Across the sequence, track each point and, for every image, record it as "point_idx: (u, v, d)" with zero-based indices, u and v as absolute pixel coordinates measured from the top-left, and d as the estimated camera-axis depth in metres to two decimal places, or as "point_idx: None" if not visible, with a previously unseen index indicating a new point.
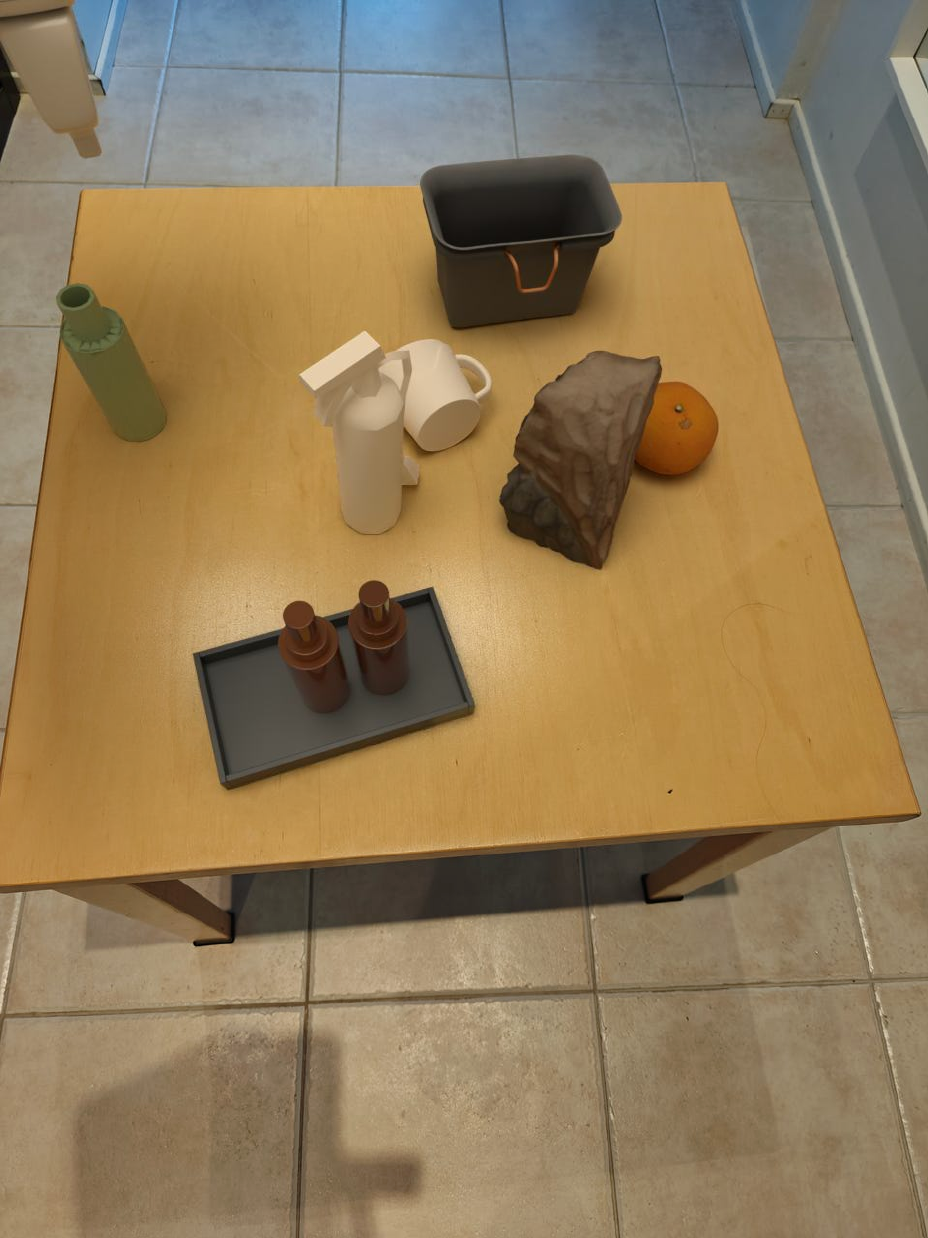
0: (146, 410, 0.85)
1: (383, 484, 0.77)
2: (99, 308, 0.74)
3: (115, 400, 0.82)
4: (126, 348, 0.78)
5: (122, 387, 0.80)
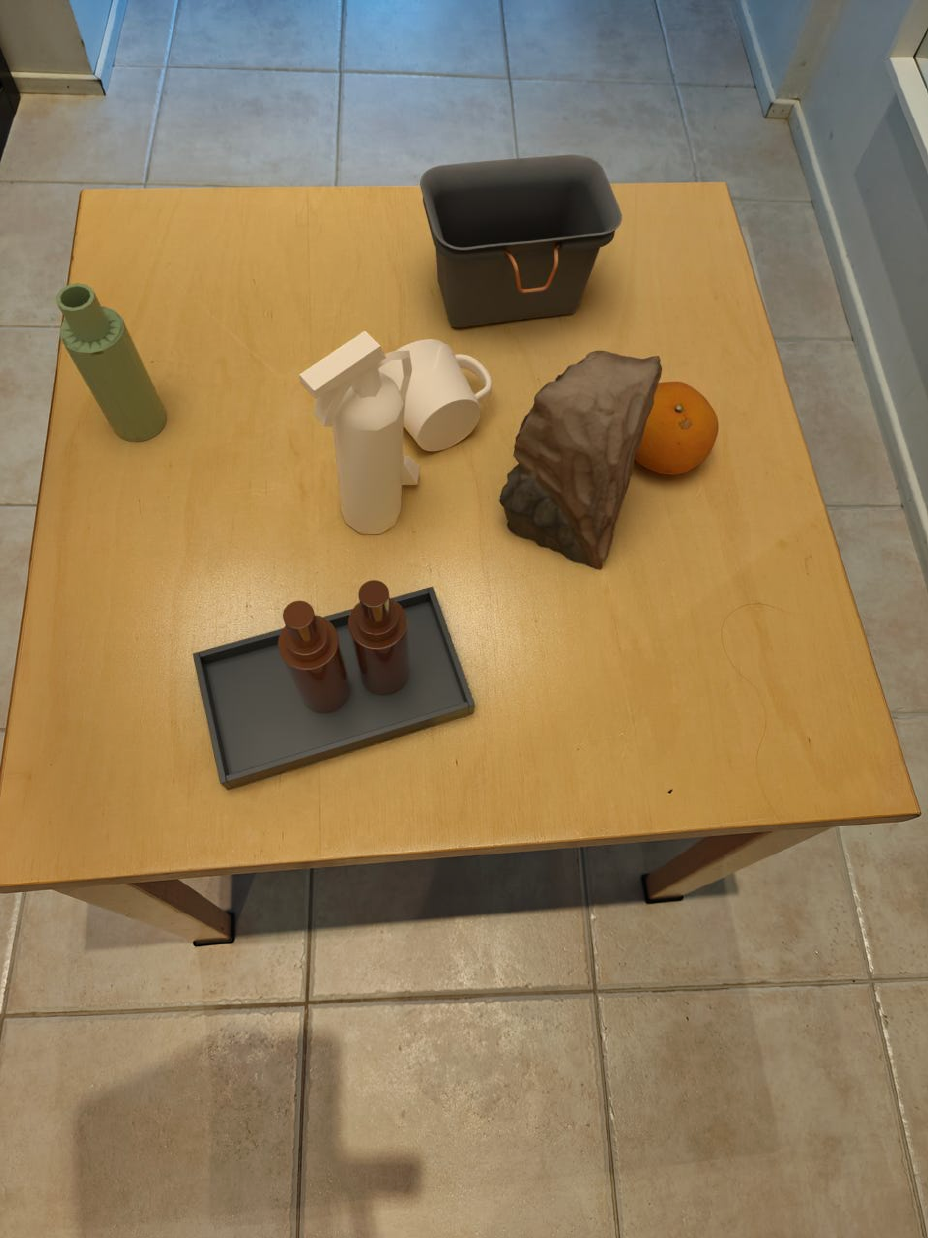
0: (146, 410, 0.85)
1: (383, 484, 0.77)
2: (99, 308, 0.74)
3: (115, 400, 0.82)
4: (126, 348, 0.78)
5: (122, 387, 0.80)
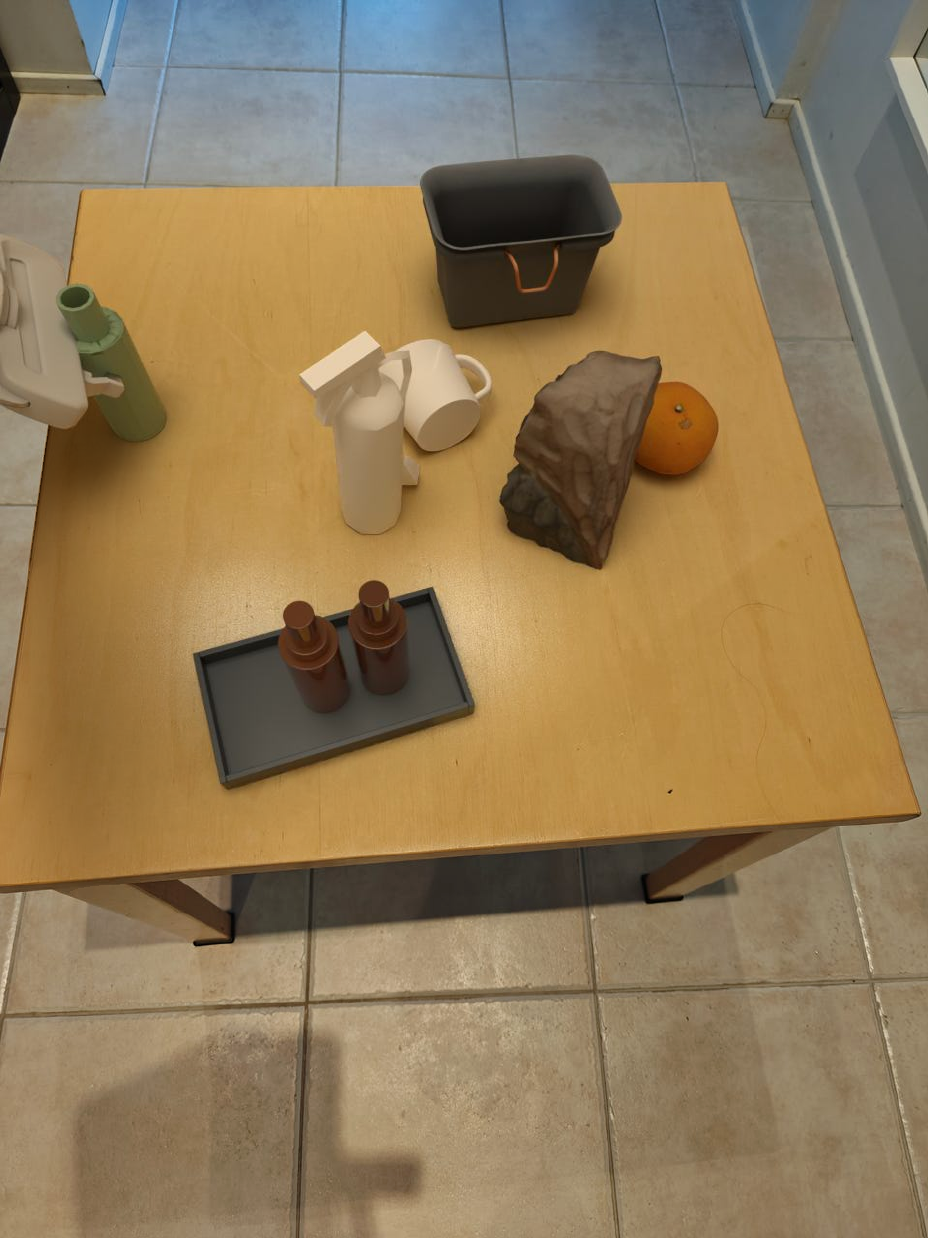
0: (146, 410, 0.85)
1: (383, 484, 0.77)
2: (99, 308, 0.74)
3: (115, 400, 0.82)
4: (126, 348, 0.78)
5: None
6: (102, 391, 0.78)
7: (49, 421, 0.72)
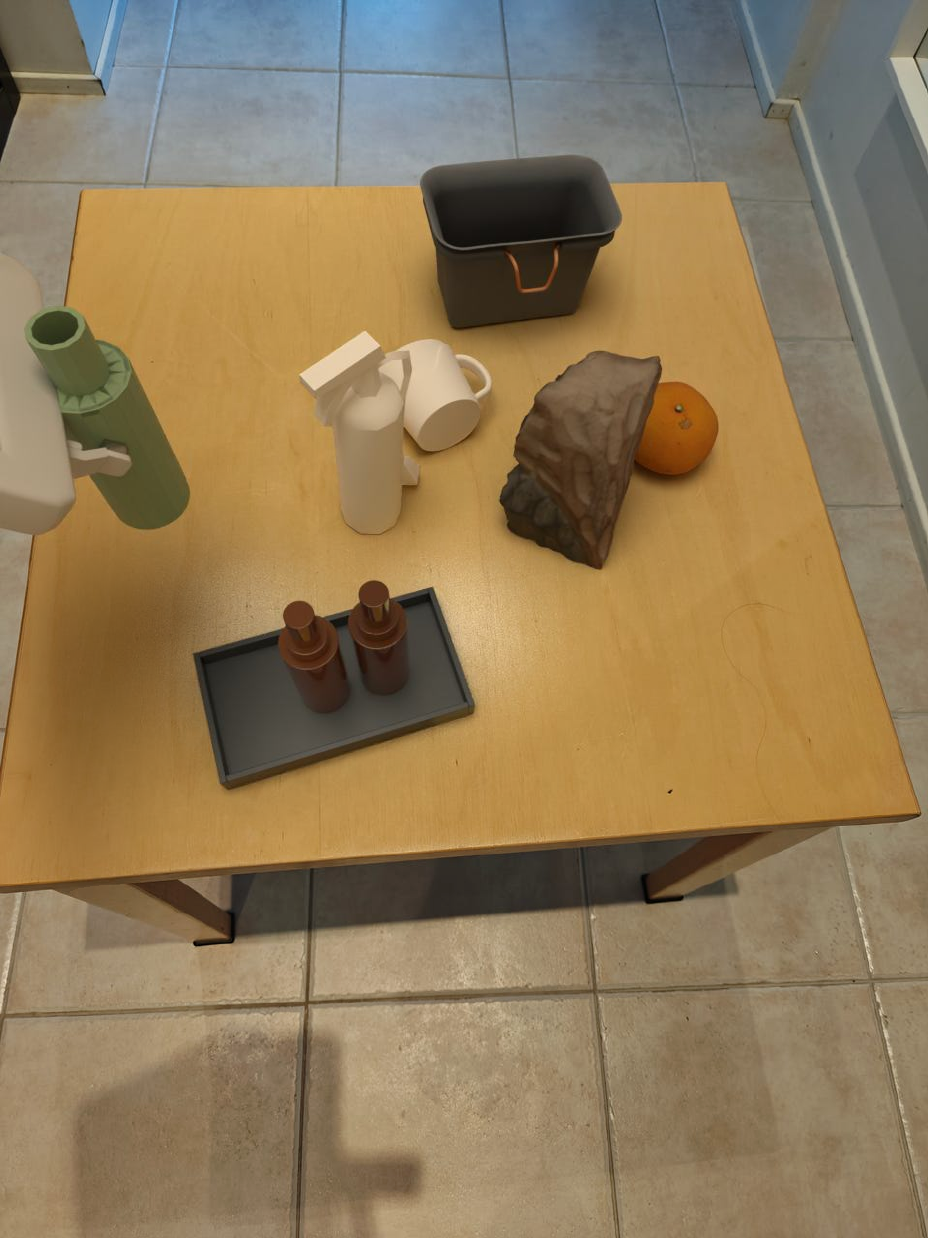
0: (163, 488, 0.58)
1: (383, 484, 0.77)
2: (93, 345, 0.47)
3: (118, 478, 0.55)
4: (134, 403, 0.51)
5: None
6: (98, 468, 0.51)
7: (14, 526, 0.45)
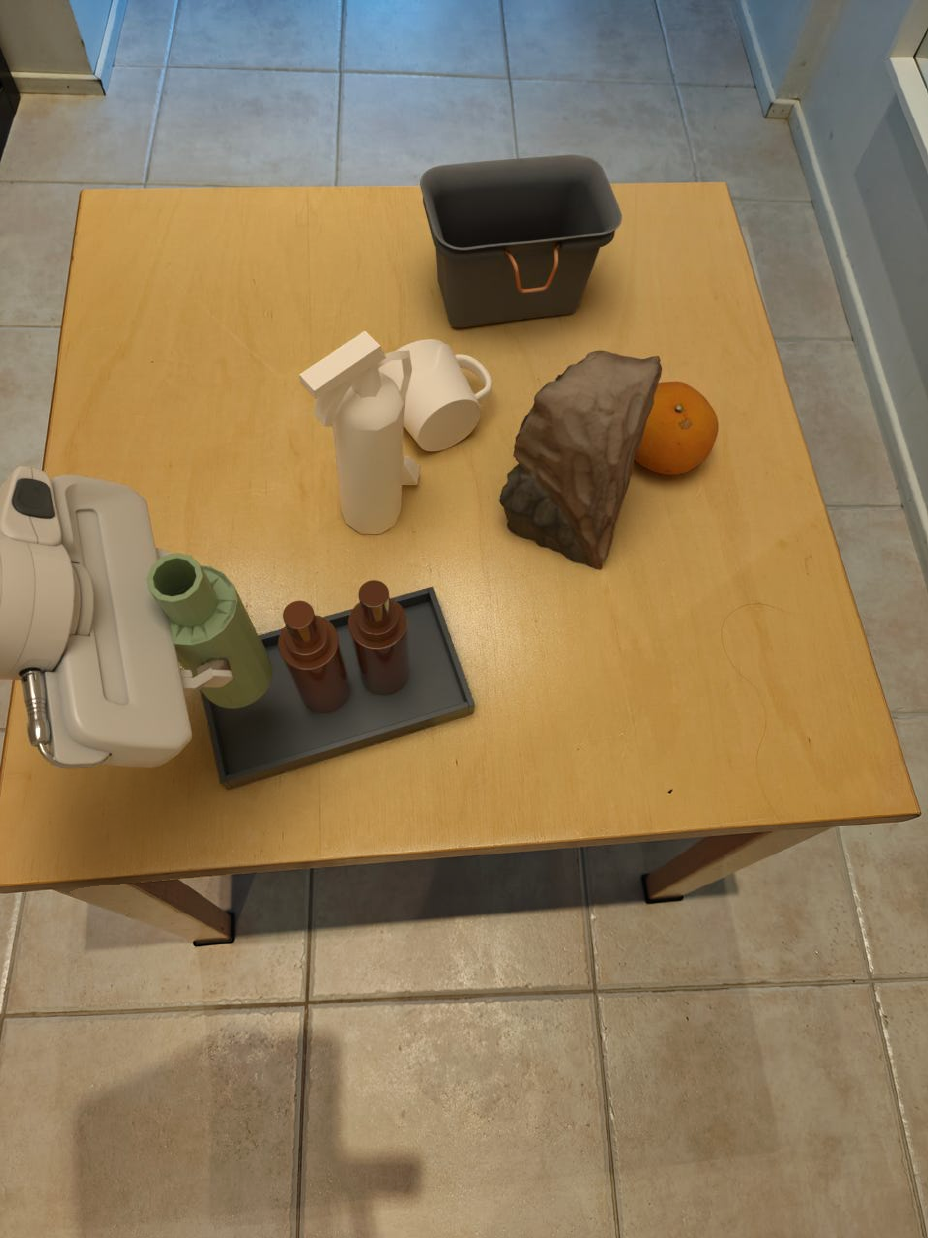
0: (253, 679, 0.62)
1: (383, 484, 0.77)
2: (207, 587, 0.51)
3: None
4: (238, 625, 0.55)
5: None
6: (202, 685, 0.55)
7: (136, 765, 0.49)
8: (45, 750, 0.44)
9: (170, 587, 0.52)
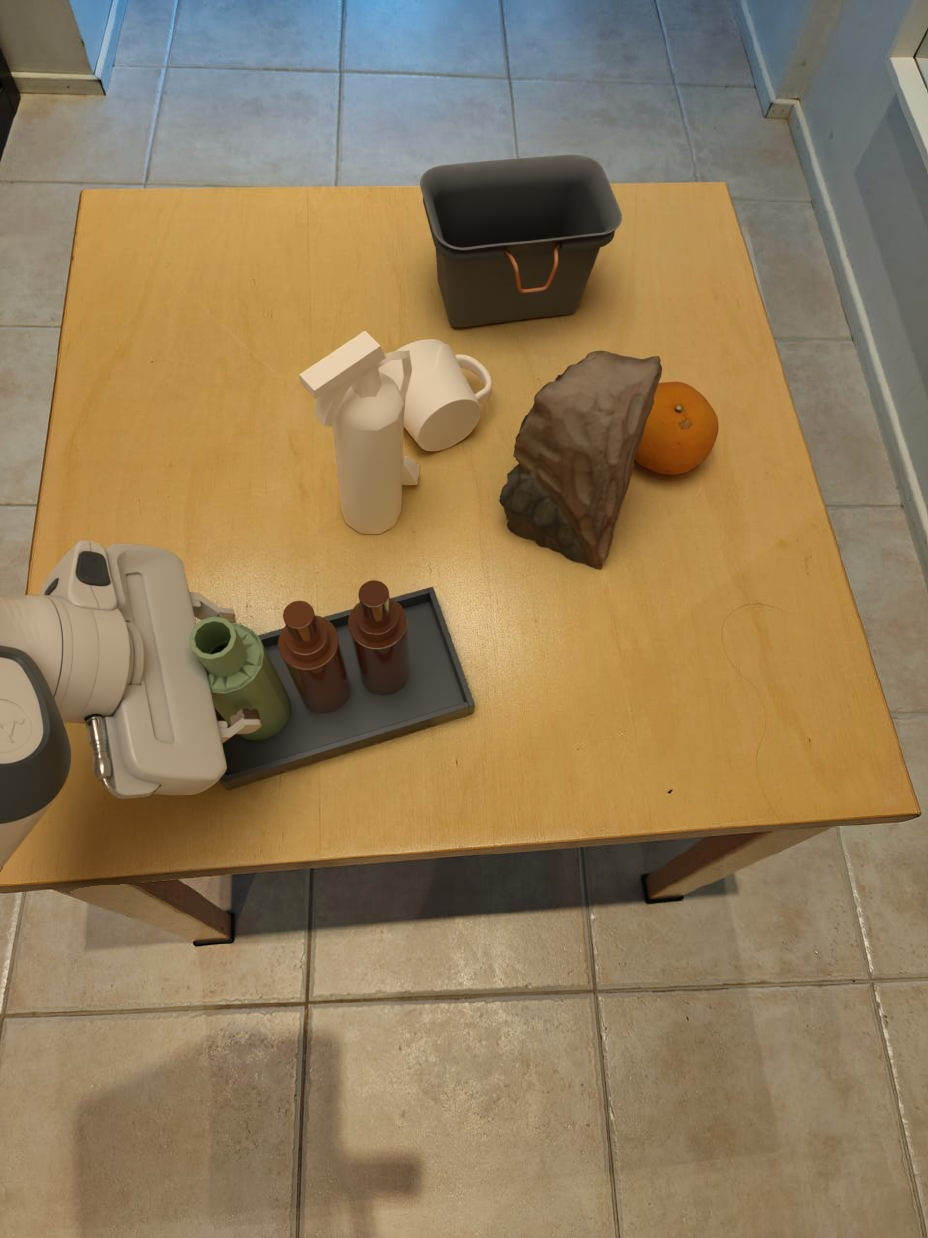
0: (275, 716, 0.71)
1: (383, 484, 0.77)
2: (239, 644, 0.60)
3: None
4: (264, 674, 0.64)
5: None
6: (235, 732, 0.63)
7: (180, 793, 0.58)
8: (108, 784, 0.53)
9: (207, 643, 0.62)
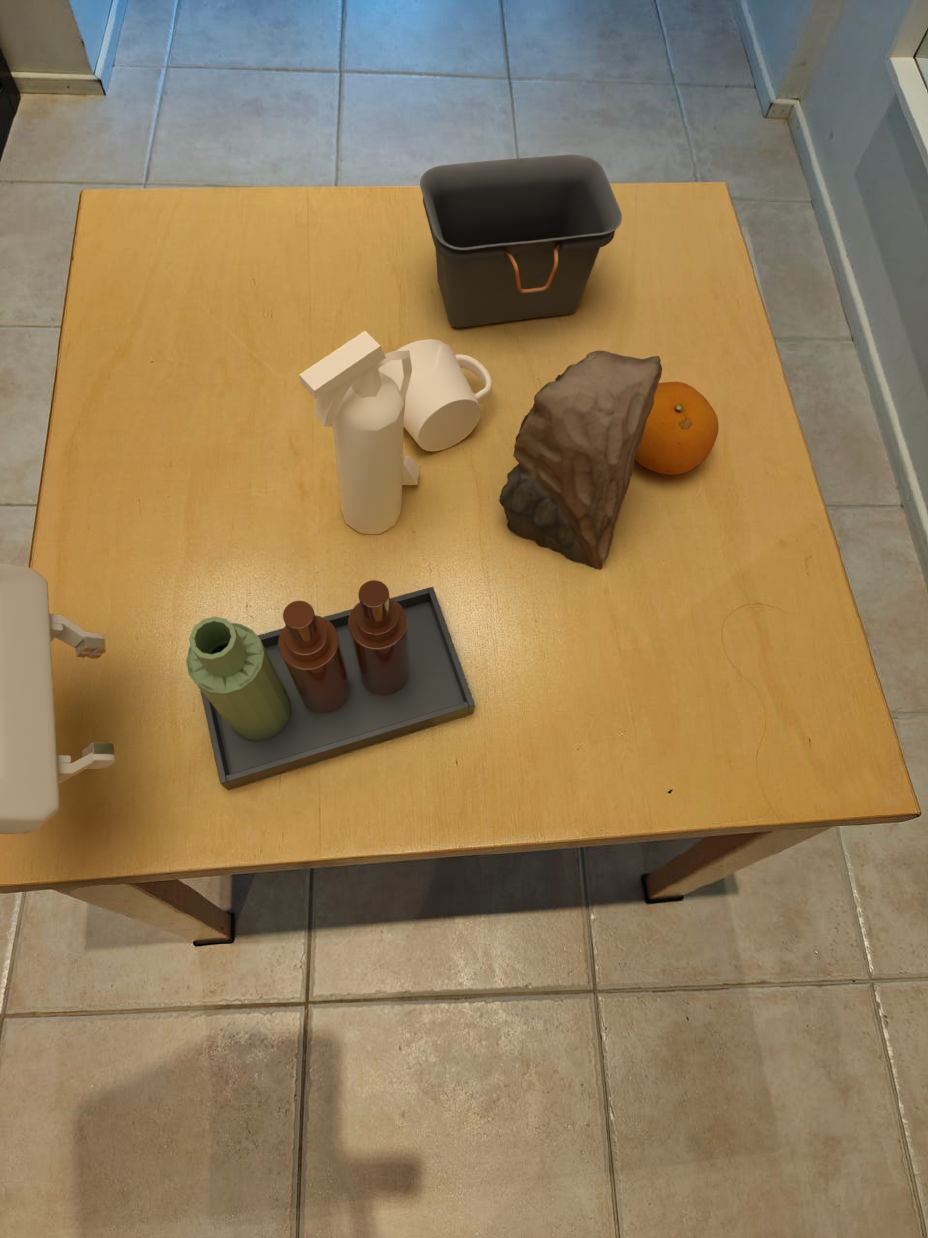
0: (275, 716, 0.71)
1: (383, 484, 0.77)
2: (239, 644, 0.60)
3: (243, 719, 0.67)
4: (264, 674, 0.64)
5: (254, 709, 0.66)
6: (85, 767, 0.59)
7: (5, 832, 0.54)
8: None
9: (207, 643, 0.62)
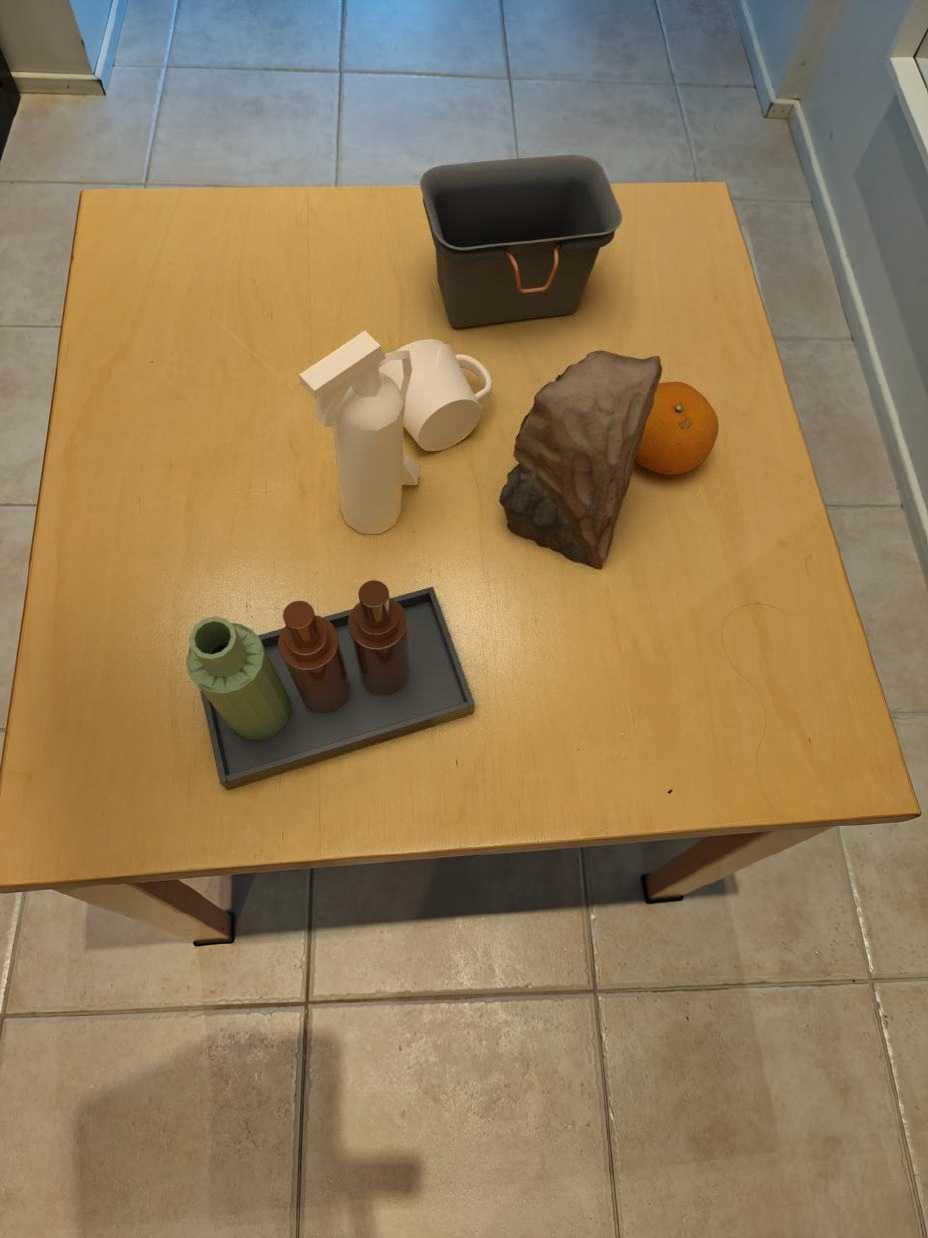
0: (275, 716, 0.71)
1: (383, 484, 0.77)
2: (239, 644, 0.60)
3: (243, 719, 0.67)
4: (264, 674, 0.64)
5: (254, 709, 0.66)
6: None
7: None
8: None
9: (207, 643, 0.62)
